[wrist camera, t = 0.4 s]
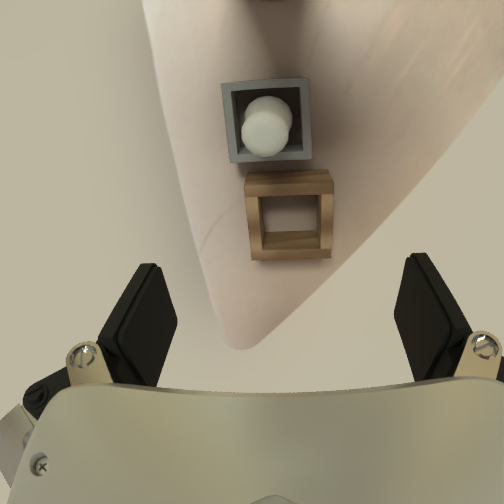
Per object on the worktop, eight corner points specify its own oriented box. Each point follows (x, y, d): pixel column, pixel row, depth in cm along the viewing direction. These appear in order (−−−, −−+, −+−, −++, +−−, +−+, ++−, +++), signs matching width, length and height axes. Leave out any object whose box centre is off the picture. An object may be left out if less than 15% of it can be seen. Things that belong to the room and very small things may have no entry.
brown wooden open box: (247, 172, 41) (243, 186, 37) (327, 169, 40) (333, 182, 36) (254, 241, 47) (251, 260, 43) (326, 238, 46) (330, 257, 41)
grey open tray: (226, 82, 34) (220, 84, 31) (305, 77, 33) (308, 78, 30) (234, 154, 40) (230, 163, 36) (308, 151, 39) (312, 159, 35)
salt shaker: (287, 91, 34) (292, 99, 24) (295, 133, 37) (303, 161, 27) (241, 99, 36) (224, 112, 25) (250, 141, 39) (239, 172, 28)
